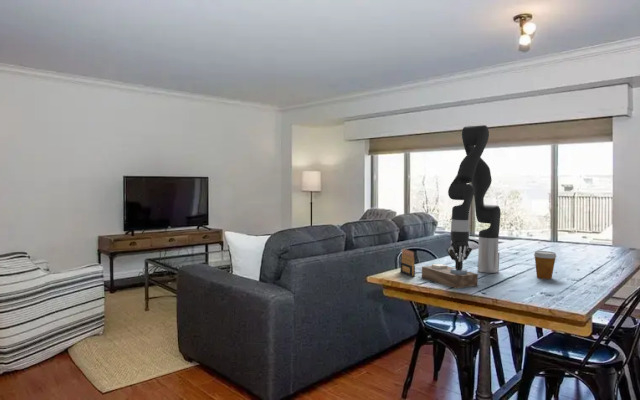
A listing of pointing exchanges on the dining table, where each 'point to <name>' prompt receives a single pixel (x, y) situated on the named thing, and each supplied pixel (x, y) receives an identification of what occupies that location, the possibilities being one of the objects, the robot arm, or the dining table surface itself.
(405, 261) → the wooden panel with frame
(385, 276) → the dining table surface
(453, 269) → the slate key
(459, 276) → the key panel
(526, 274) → the dining table surface
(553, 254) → the disposable coffee cup
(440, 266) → the cream key
